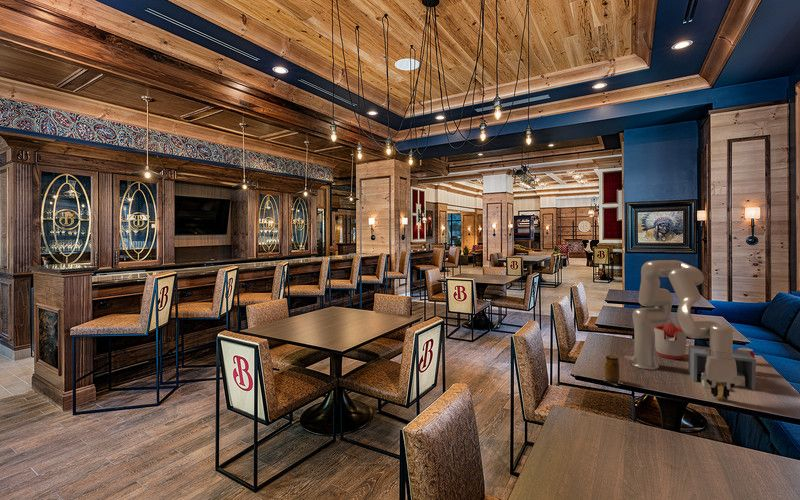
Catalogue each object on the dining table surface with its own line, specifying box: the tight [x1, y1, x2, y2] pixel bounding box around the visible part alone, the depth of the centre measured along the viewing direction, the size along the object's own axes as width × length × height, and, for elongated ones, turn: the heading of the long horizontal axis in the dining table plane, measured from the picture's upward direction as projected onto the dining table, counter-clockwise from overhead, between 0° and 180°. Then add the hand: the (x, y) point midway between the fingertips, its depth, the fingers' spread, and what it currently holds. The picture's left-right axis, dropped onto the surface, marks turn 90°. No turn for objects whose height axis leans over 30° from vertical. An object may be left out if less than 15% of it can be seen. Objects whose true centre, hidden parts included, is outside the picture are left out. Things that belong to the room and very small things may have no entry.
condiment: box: [604, 354, 620, 386], centre depth 181 cm, size 7×8×12 cm
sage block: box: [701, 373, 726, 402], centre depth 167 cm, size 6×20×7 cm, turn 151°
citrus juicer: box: [653, 322, 687, 360], centre depth 216 cm, size 16×17×20 cm
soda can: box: [737, 347, 756, 359], centre depth 191 cm, size 7×7×12 cm
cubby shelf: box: [687, 344, 757, 391], centre depth 180 cm, size 22×14×14 cm, turn 61°
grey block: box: [736, 372, 746, 388], centre depth 177 cm, size 6×6×5 cm
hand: (719, 396), depth 160 cm, fingers closed on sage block, 3 cm apart
